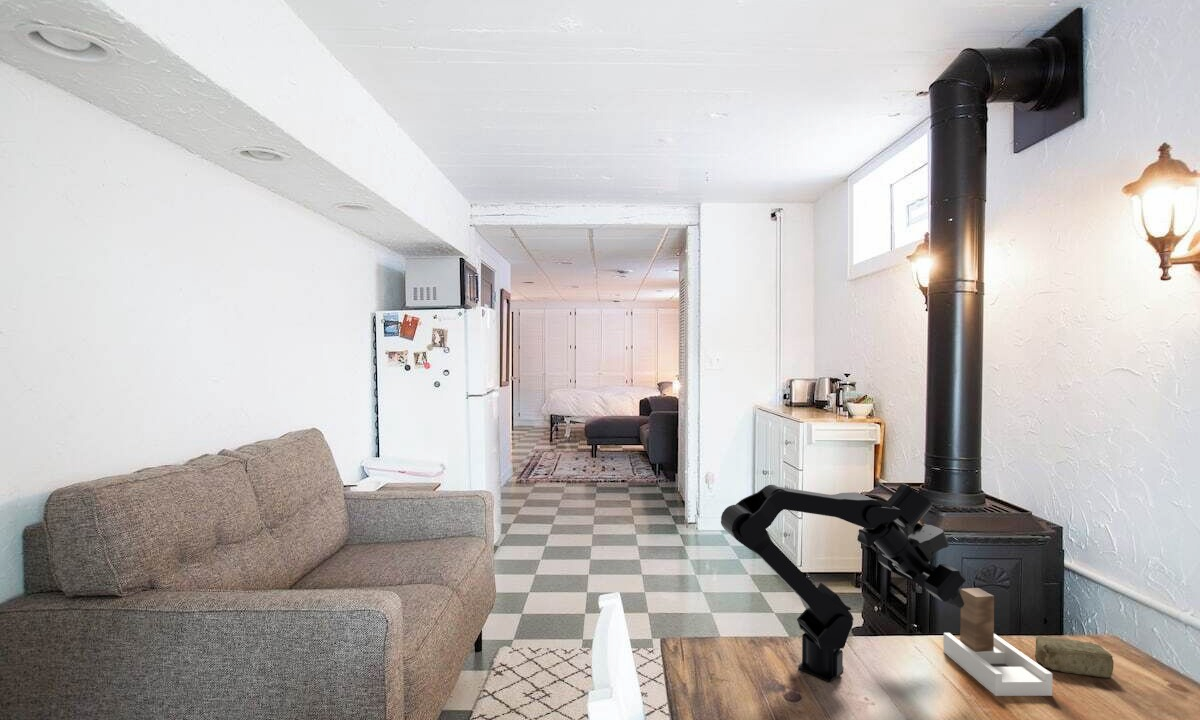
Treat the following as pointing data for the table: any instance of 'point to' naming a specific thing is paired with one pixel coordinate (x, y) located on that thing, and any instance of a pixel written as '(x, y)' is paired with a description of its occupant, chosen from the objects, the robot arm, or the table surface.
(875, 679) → the table surface
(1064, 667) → the stone block
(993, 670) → the walled channel
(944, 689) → the table surface
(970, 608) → the walnut block
